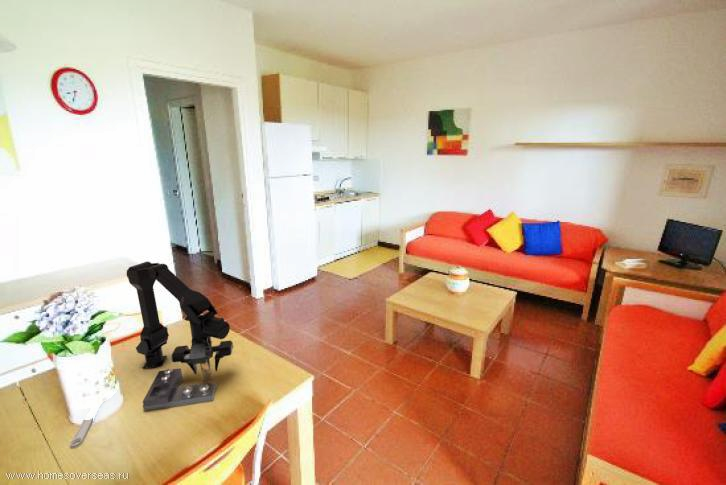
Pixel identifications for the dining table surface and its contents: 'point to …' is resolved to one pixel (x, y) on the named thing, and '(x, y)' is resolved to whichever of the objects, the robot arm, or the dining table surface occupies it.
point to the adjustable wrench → (81, 433)
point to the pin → (206, 370)
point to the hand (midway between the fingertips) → (206, 372)
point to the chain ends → (176, 391)
